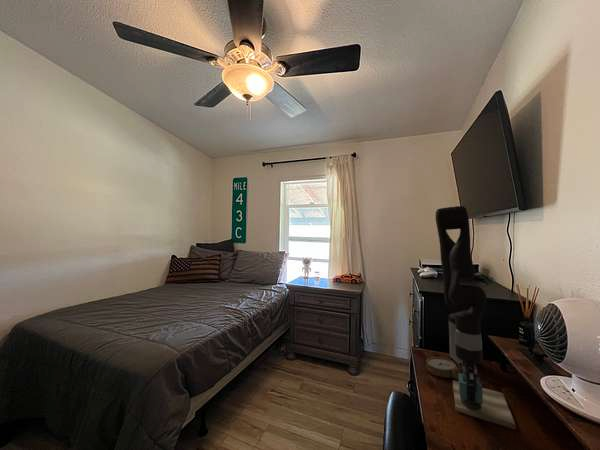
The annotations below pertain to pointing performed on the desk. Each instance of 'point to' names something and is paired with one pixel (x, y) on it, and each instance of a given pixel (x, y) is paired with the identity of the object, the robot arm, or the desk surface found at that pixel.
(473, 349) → the robot arm
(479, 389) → the teal square frame
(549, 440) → the desk surface
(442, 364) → the alarm clock
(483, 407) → the post board
